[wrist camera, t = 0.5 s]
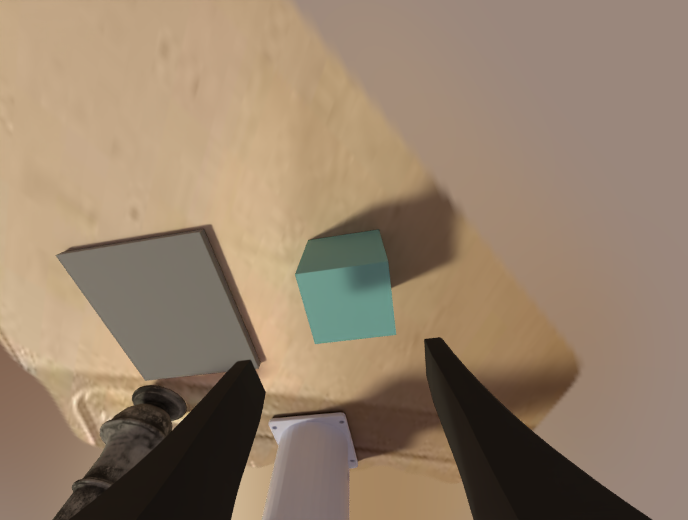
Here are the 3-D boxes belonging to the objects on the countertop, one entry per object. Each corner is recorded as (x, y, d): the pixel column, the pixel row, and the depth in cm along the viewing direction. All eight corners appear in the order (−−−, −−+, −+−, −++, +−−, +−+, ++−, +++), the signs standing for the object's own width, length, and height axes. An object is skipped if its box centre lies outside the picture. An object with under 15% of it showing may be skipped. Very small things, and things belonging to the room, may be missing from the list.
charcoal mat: (260, 363, 24) (258, 368, 23) (149, 375, 25) (145, 380, 24) (203, 228, 18) (199, 232, 18) (63, 251, 19) (55, 255, 19)
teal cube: (385, 289, 20) (396, 334, 16) (322, 297, 21) (315, 344, 16) (378, 229, 18) (388, 261, 14) (308, 239, 19) (295, 274, 14)
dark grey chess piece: (158, 375, 25) (12, 561, 14) (201, 411, 27) (103, 594, 16) (117, 395, 26) (-44, 577, 16) (161, 427, 29) (47, 606, 18)
